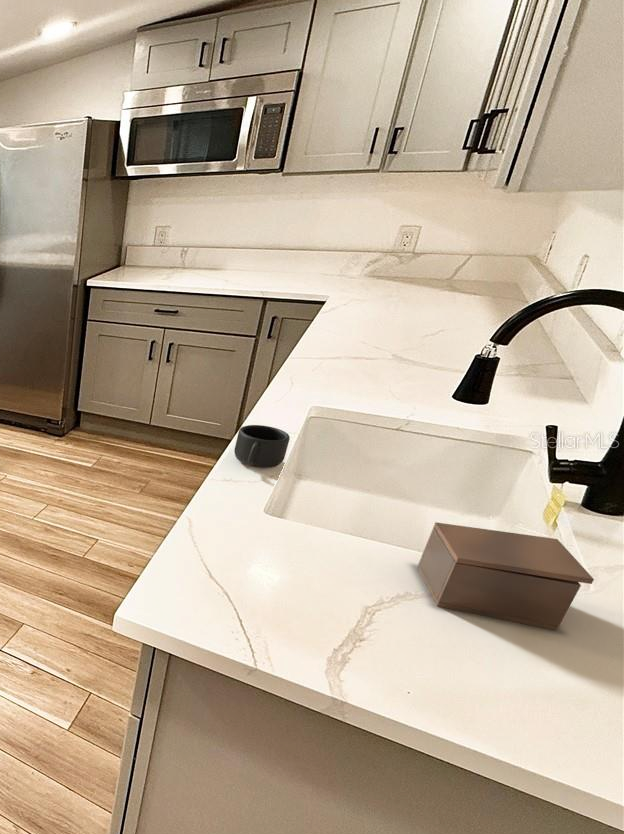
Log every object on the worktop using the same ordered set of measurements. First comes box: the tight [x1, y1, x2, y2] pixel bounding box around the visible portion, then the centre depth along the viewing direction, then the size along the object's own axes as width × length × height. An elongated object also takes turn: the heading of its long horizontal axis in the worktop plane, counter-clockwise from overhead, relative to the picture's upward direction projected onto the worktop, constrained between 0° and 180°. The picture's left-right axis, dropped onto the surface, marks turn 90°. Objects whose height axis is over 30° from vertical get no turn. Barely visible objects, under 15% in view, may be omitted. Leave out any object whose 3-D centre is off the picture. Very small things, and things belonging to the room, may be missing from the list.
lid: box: [433, 521, 595, 585], centre depth 88 cm, size 13×10×1 cm
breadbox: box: [416, 526, 582, 631], centre depth 90 cm, size 12×10×8 cm
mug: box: [233, 424, 291, 469], centre depth 131 cm, size 12×9×7 cm
